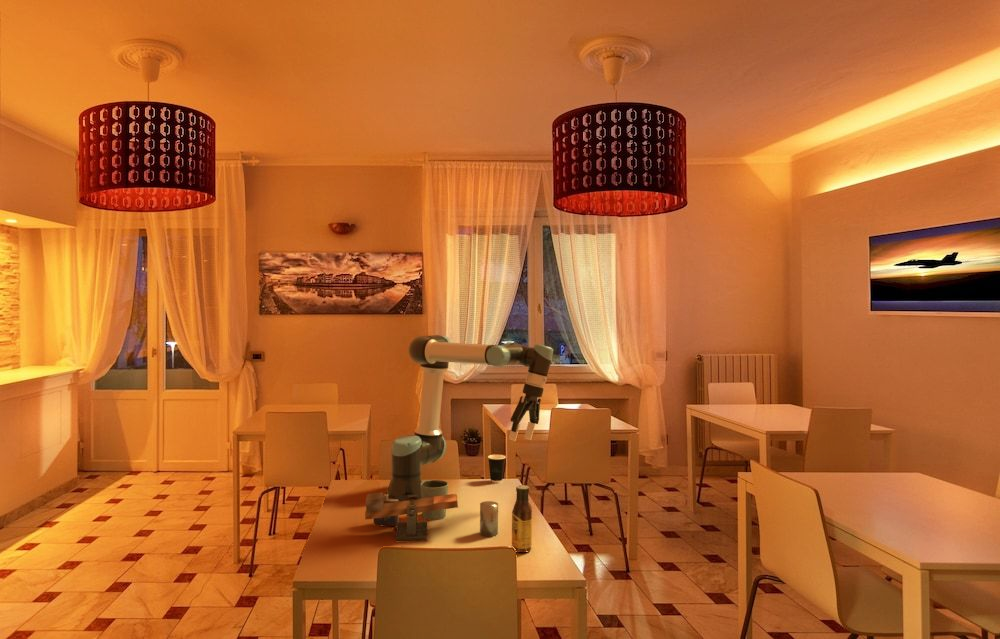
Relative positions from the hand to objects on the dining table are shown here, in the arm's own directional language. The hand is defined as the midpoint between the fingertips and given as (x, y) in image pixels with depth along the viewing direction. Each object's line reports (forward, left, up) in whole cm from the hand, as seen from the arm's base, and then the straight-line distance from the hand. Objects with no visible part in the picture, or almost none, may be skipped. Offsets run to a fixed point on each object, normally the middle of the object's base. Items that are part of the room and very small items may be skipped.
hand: (519, 439), depth 226 cm
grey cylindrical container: (-23, -23, -26) cm, 42 cm away
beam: (-19, -41, -18) cm, 48 cm away
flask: (-32, -39, -26) cm, 57 cm away
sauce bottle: (+19, -35, -26) cm, 48 cm away
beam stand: (-19, -41, -26) cm, 52 cm away
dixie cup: (-27, +29, -26) cm, 47 cm away
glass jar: (+3, -28, -26) cm, 38 cm away
